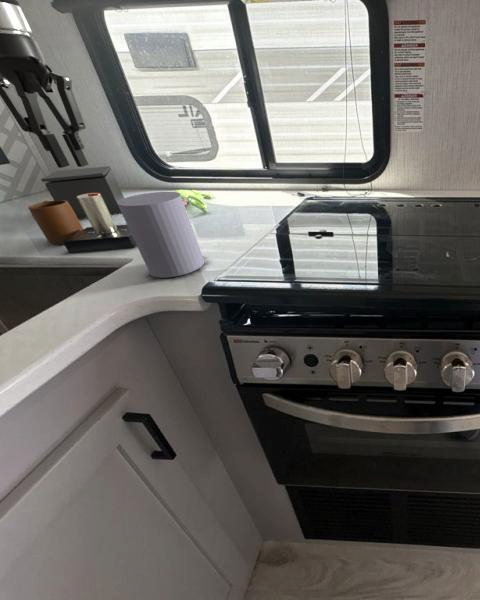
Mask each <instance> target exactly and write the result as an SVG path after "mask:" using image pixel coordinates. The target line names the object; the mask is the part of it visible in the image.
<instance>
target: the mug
mask: <svg viewBox="0 0 480 600" xmlns="http://www.w3.org/2000/svg"><path fill="white" fill-rule="evenodd" d="M28 210H29V212H30V214H31V216H32V218H33V219H34V221H35V223H36V224H37V226H38V228H39V229H40V231H41V233H42V234H43V236H44V237H45V239H46V240H47V242H48V243H50V244H52V245H64V243H63V242H62V241H64V240H66V239H68V238H69V237H71V236H73V235H75V234H76V233H78V232H80V231H82V230H83V229H84V228H83V226H82V224H81V222H80V219H78V218H77V216H76V214H75V213H74V211H73V209H72V207H71V206H70V204H69V203H68V201H66V200H55V201H54V200H43V201H41V202H37V203H33V204H31V205H29V206H28Z"/></svg>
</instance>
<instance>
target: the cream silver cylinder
mask: <svg viewBox="0 0 480 600" xmlns="http://www.w3.org/2000/svg"><path fill="white" fill-rule="evenodd" d="M77 199H78V201H79V203H80V204H81V206H82V208H83V210H84V212H85V214H86V216H87V218H86V219H88V221H89V223H90V225H91V227H93V229H94V231H95V233H96V234H99V235H101V234H109V233H112V232H115V231H117V230H118V229H117V227H116V225H117V224H116V223H115V221H114V219H113V217H112V214H111V215H110V213H109V211H108V209H107V207H106V205H105V202H104V200H103V198H102V196H101V194H100V193H89V194H83V195H79V196H77Z"/></svg>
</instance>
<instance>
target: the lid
mask: <svg viewBox="0 0 480 600" xmlns="http://www.w3.org/2000/svg"><path fill="white" fill-rule="evenodd" d="M110 169H111V170H112V168H111V166H98V167H97V166H96V167H86V168H84V167H83V168H73V169H63V170H61V169H60V170H56V171H53V172H52V173H50V174H47V175H46V176H44V177H42V178H40V180H41V182H42V183H46V182H48V181H58V180H68V179H78V178H89V177H99V176H104V175H105V174H106V173H107V172H108V171H109V170H110Z"/></svg>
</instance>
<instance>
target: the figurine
mask: <svg viewBox="0 0 480 600" xmlns="http://www.w3.org/2000/svg"><path fill="white" fill-rule="evenodd" d="M172 192H177V193H180V195H181V198H182V200H183V203H184V206H187V204H188V203H189V204H190V205H191V206H193V207H195V208H197V209H198V210H201V212H202V213H204V214H207V213H208V211H207V208H208V204H207V203H206V202H205V201H204V197H205V198H209V199H210V198H212V197H213V194H212V193H211V192H208V193H205V192H202V191H199V190H194V189H191V190H188V189H176V190H173V191H172ZM187 201H188V203H187Z"/></svg>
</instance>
